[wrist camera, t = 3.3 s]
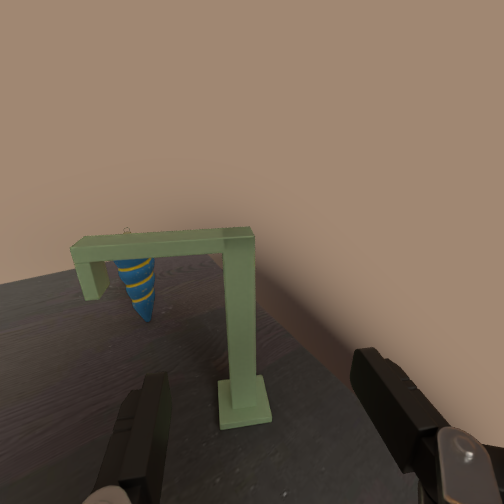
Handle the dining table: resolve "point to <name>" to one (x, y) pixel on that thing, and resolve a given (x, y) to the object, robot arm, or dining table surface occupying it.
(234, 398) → the hook
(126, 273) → the ornament
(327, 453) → the dining table surface
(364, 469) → the dining table surface
